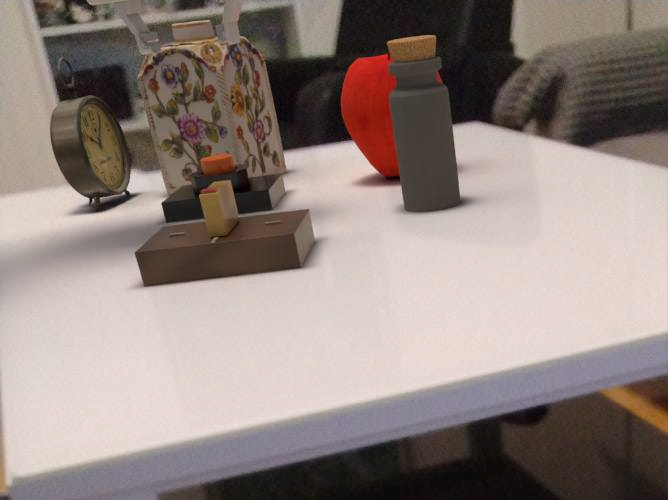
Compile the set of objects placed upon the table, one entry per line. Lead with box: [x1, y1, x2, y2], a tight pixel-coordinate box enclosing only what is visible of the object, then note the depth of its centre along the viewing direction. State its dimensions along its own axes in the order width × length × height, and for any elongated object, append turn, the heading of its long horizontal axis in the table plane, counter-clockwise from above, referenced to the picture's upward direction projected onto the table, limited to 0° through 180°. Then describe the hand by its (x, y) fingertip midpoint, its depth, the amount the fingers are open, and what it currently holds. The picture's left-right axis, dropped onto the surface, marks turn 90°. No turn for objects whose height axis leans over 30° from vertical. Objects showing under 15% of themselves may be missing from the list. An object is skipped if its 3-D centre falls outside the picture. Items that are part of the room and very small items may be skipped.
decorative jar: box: [136, 19, 287, 196], centre depth 125 cm, size 12×12×18 cm
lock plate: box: [134, 208, 316, 287], centre depth 92 cm, size 14×10×3 cm
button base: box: [160, 164, 287, 224], centre depth 116 cm, size 12×10×4 cm
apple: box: [340, 47, 444, 178], centre depth 117 cm, size 12×12×13 cm
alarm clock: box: [49, 56, 132, 213], centre depth 123 cm, size 11×5×16 cm, turn 171°
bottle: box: [386, 34, 461, 213], centre depth 101 cm, size 6×6×15 cm
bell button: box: [200, 154, 236, 175], centre depth 114 cm, size 4×4×2 cm
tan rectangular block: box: [199, 180, 240, 237], centre depth 90 cm, size 6×2×4 cm, turn 0°
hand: (190, 49), depth 101 cm, fingers open, 8 cm apart
